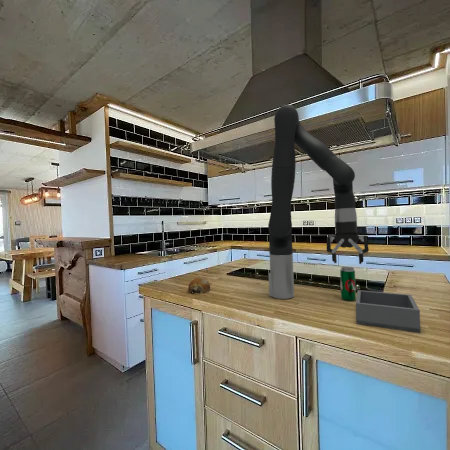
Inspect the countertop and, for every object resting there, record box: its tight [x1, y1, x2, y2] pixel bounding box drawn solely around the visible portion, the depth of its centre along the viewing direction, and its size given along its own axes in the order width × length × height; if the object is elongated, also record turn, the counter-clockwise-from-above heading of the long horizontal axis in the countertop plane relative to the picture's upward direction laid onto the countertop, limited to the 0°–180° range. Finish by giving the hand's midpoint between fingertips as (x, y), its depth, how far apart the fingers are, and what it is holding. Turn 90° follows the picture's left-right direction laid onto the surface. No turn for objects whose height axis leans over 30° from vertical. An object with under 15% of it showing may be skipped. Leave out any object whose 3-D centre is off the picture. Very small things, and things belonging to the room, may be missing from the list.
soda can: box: [339, 266, 357, 302], centre depth 97 cm, size 5×5×12 cm
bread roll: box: [187, 276, 211, 294], centre depth 117 cm, size 10×10×8 cm
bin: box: [355, 289, 421, 334], centre depth 78 cm, size 15×15×6 cm
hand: (347, 263), depth 97 cm, fingers open, 8 cm apart
